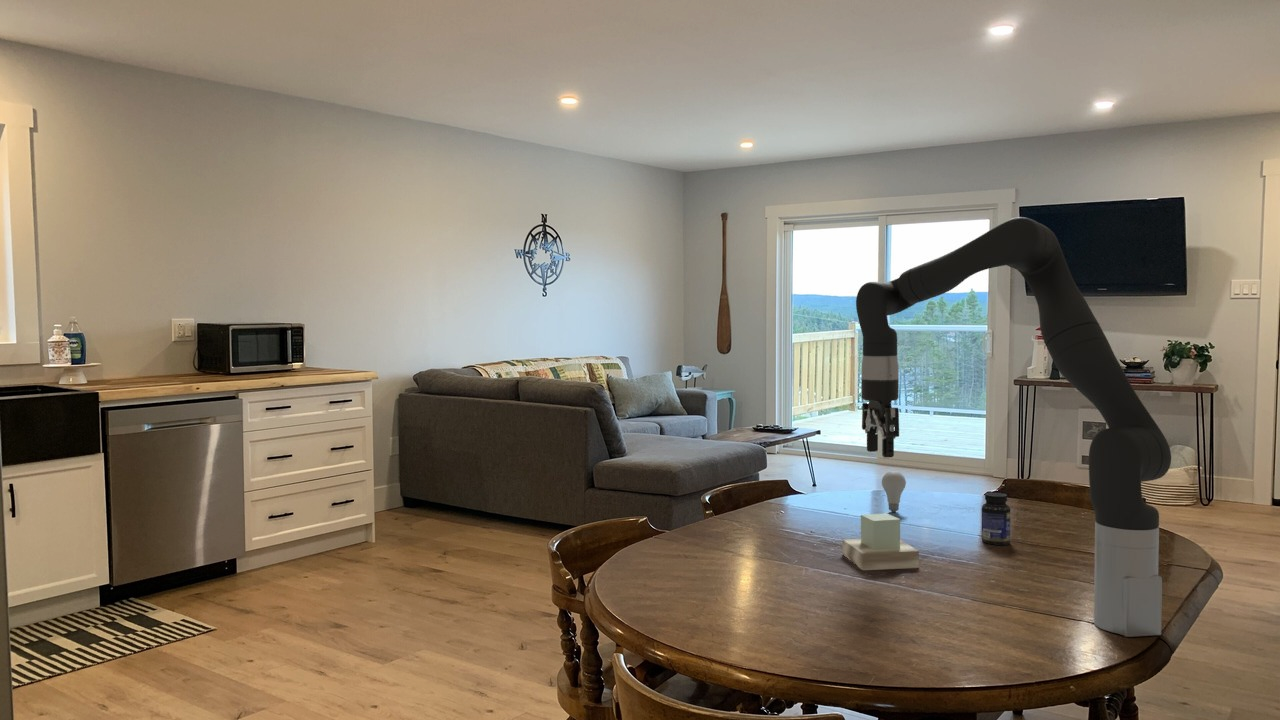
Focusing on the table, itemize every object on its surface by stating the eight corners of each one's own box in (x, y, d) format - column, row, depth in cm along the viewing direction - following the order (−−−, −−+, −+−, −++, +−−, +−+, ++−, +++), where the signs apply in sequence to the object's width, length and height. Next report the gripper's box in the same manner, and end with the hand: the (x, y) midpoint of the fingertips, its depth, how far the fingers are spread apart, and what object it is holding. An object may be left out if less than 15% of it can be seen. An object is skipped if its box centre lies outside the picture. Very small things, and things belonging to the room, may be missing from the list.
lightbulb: (881, 514, 235) (881, 472, 234) (882, 509, 241) (882, 468, 240) (905, 515, 233) (905, 473, 233) (905, 510, 239) (905, 469, 238)
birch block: (918, 570, 184) (918, 551, 184) (862, 573, 183) (862, 553, 183) (895, 555, 196) (895, 537, 196) (842, 557, 195) (842, 539, 195)
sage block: (900, 547, 187) (900, 519, 187) (873, 549, 186) (873, 520, 185) (886, 541, 193) (886, 513, 193) (860, 542, 192) (860, 514, 191)
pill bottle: (1012, 546, 201) (1013, 497, 200) (983, 545, 202) (984, 496, 201) (1007, 539, 207) (1007, 492, 206) (979, 538, 208) (979, 491, 208)
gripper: (911, 379, 181) (911, 458, 182) (883, 375, 195) (883, 449, 196) (875, 379, 180) (875, 459, 181) (850, 375, 194) (850, 450, 195)
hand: (879, 454), depth 189 cm, fingers open, 8 cm apart
